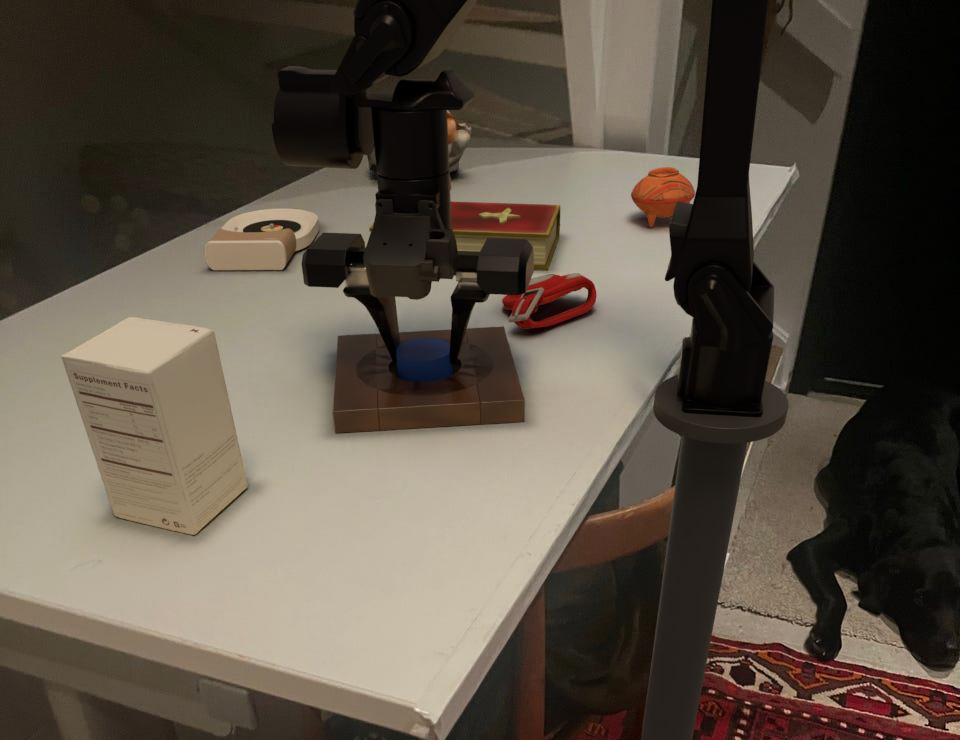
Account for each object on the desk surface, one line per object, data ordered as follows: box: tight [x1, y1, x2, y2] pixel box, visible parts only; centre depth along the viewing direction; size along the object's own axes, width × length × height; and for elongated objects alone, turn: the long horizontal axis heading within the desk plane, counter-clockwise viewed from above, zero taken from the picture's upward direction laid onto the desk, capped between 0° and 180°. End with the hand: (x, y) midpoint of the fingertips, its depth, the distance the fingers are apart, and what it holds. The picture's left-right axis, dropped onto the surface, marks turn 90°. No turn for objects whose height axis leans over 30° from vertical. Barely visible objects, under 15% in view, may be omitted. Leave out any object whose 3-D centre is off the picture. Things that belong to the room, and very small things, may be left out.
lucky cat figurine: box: [366, 110, 472, 173], centre depth 134 cm, size 15×12×14 cm
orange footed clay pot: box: [630, 166, 696, 228], centre depth 118 cm, size 8×8×7 cm
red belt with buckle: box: [501, 272, 597, 330], centre depth 95 cm, size 12×4×10 cm
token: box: [396, 338, 453, 382], centre depth 83 cm, size 5×5×2 cm
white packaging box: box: [61, 316, 249, 536], centre depth 66 cm, size 7×7×13 cm
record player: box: [204, 208, 320, 271], centre depth 115 cm, size 12×3×20 cm
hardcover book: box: [368, 201, 561, 271], centre depth 112 cm, size 12×21×4 cm, turn 80°
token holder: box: [332, 326, 526, 434], centre depth 84 cm, size 16×16×2 cm
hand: (424, 361), depth 83 cm, fingers closed on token, 5 cm apart
